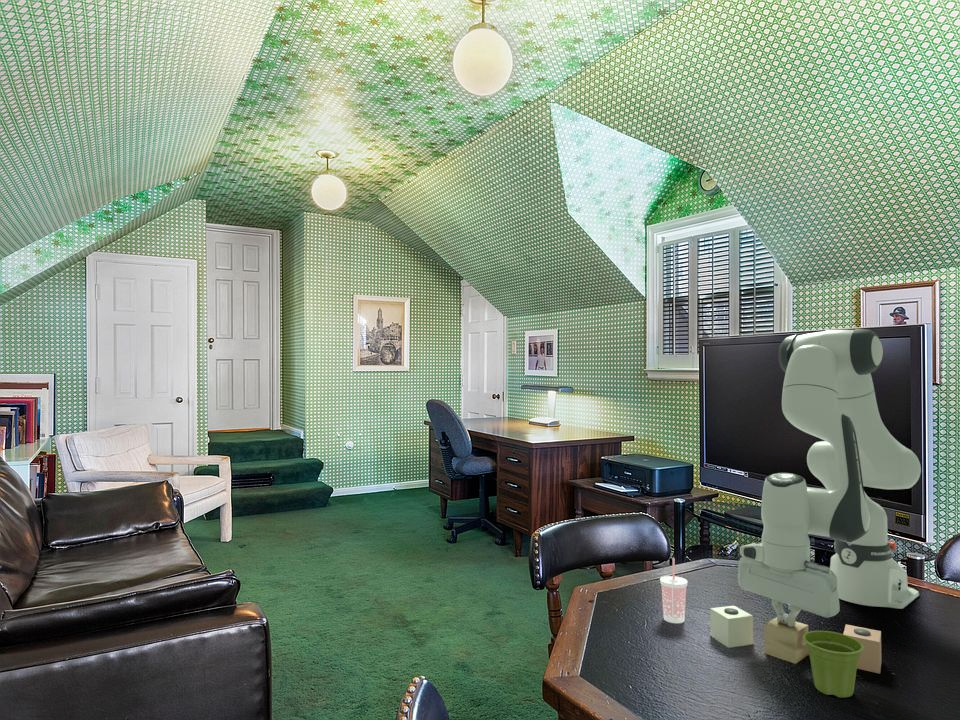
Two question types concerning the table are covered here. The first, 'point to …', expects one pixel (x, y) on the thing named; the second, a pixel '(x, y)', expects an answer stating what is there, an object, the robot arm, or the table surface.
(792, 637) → the oak block
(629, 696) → the table surface
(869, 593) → the robot arm
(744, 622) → the dot block cream
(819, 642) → the plant pot
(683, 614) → the beverage cup
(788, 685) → the table surface
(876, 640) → the dot block tan
